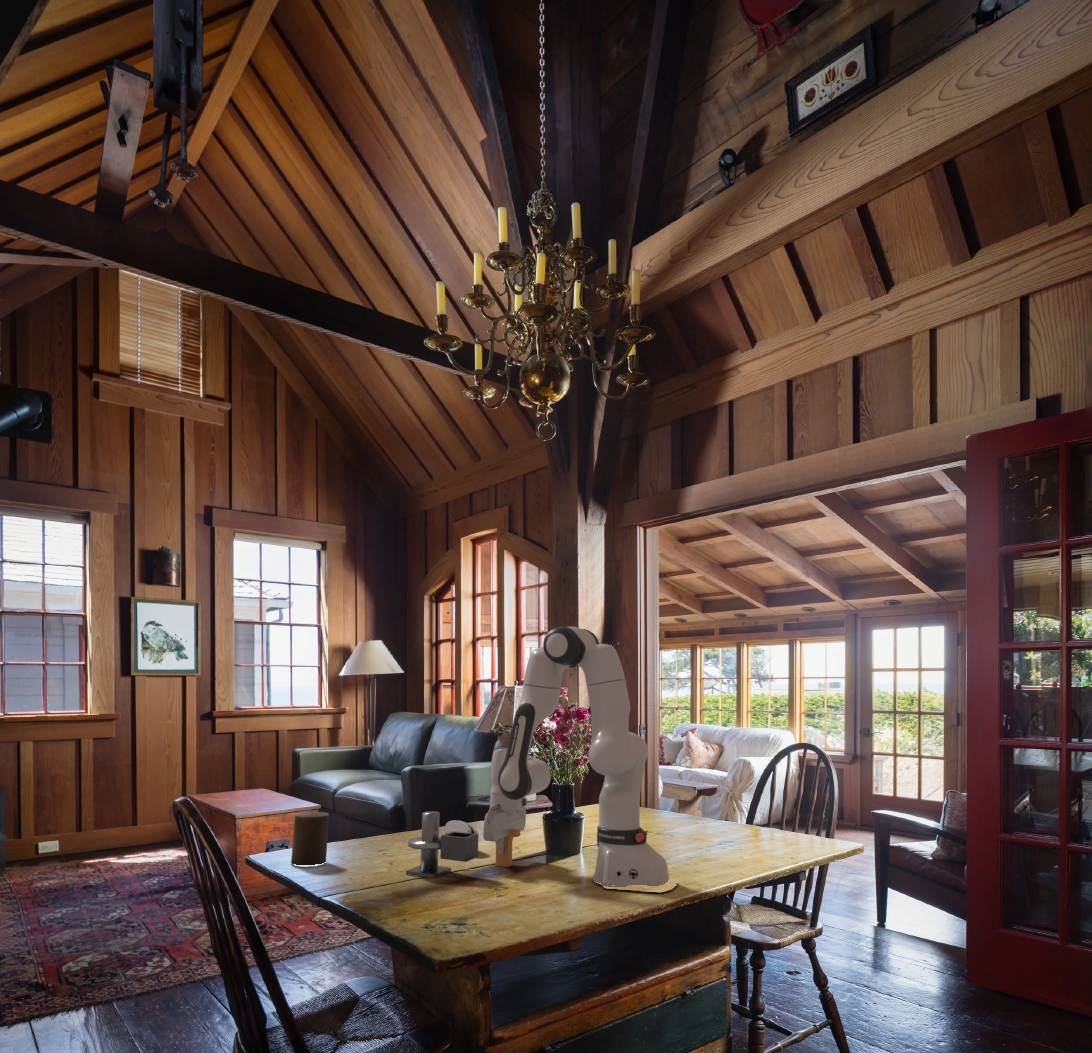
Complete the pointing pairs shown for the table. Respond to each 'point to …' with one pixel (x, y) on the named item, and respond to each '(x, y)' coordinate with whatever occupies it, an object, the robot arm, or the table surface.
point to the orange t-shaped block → (507, 849)
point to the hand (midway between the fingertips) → (504, 852)
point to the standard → (441, 847)
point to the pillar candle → (310, 838)
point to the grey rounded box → (458, 827)
